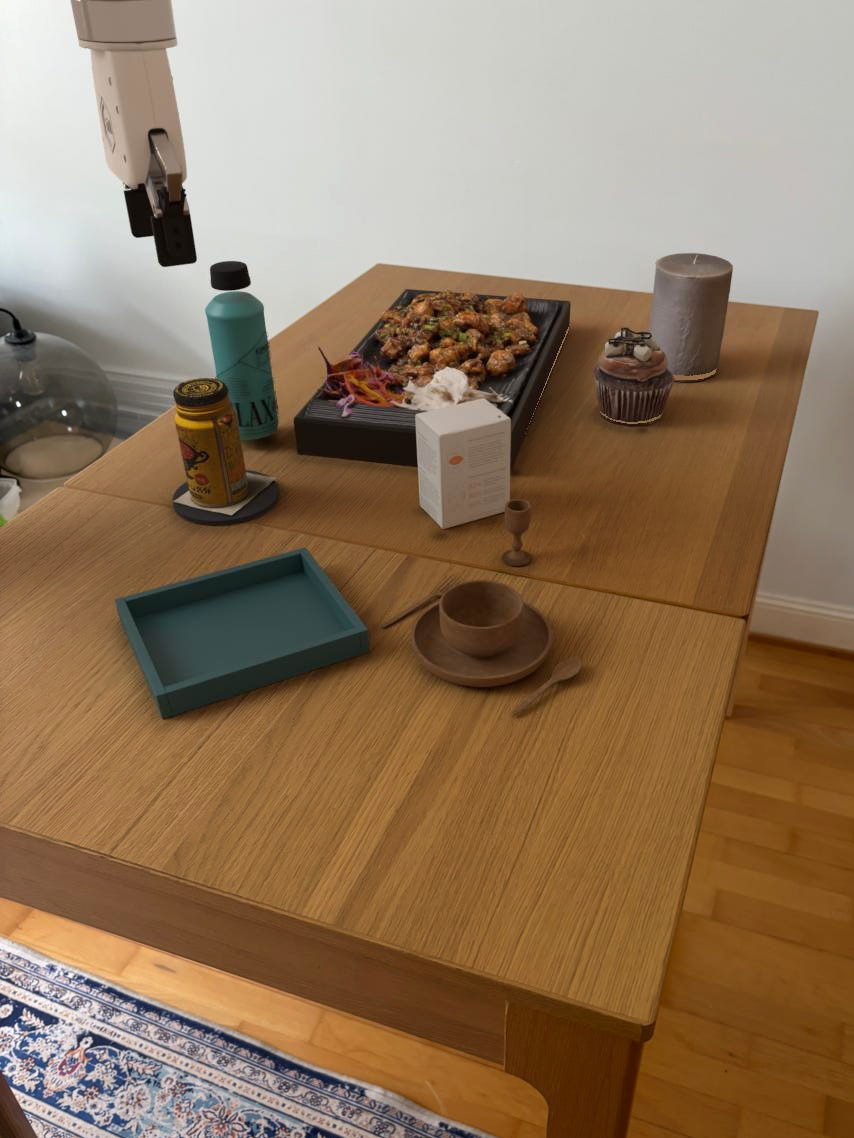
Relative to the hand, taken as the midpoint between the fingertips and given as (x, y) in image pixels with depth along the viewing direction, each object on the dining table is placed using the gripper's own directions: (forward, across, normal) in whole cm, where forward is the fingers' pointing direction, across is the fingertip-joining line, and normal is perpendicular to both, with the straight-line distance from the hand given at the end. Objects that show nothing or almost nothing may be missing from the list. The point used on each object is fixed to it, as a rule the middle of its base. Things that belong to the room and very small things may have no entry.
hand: (163, 249), depth 87 cm
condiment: (+25, 0, +2) cm, 25 cm away
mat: (+26, 0, +2) cm, 26 cm away
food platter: (+25, -15, +36) cm, 46 cm away
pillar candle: (+24, -5, +66) cm, 71 cm away
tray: (+26, +24, -4) cm, 36 cm away
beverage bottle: (+26, -12, +9) cm, 30 cm away
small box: (+25, +14, +23) cm, 37 cm away
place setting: (+25, +34, +17) cm, 46 cm away
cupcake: (+25, +3, +52) cm, 58 cm away
